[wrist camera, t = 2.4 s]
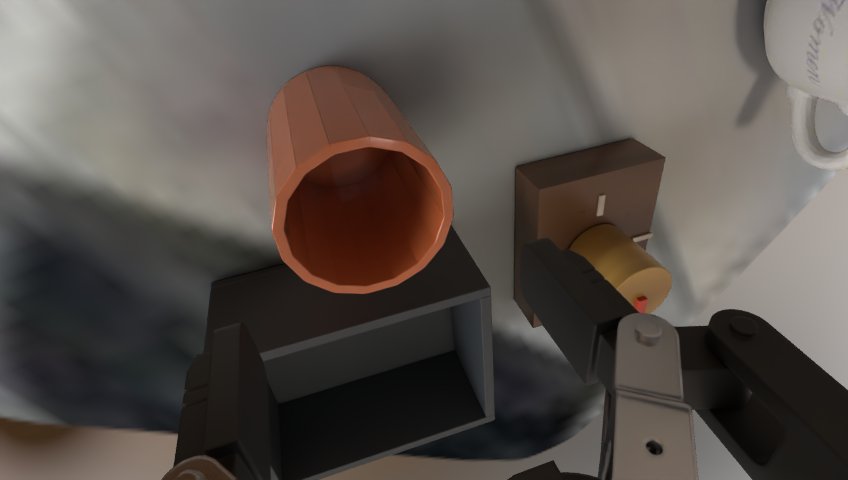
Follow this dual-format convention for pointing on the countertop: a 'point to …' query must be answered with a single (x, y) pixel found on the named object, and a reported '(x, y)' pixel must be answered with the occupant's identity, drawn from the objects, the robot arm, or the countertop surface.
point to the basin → (365, 360)
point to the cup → (351, 184)
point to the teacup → (810, 66)
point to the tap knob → (625, 266)
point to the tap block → (585, 198)
